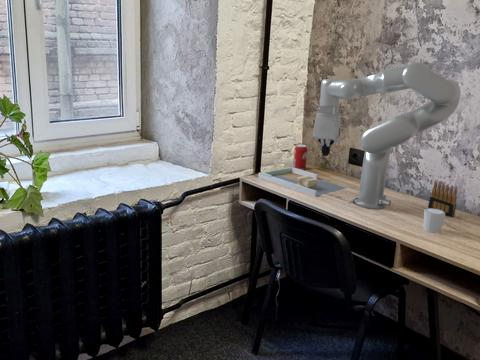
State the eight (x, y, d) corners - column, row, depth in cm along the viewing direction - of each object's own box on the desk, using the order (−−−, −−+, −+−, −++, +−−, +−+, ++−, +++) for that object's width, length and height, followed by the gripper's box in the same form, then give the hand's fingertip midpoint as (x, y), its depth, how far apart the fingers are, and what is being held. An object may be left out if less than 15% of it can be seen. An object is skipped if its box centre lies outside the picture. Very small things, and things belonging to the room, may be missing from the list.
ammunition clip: (427, 208, 196) (432, 179, 193) (430, 208, 197) (435, 179, 194) (451, 217, 188) (457, 187, 184) (454, 216, 189) (460, 186, 185)
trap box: (346, 191, 212) (347, 182, 211) (314, 199, 198) (315, 190, 197) (290, 173, 235) (291, 166, 233) (257, 180, 220) (258, 172, 219)
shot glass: (444, 230, 173) (448, 211, 171) (437, 235, 168) (441, 215, 166) (425, 224, 177) (429, 206, 175) (418, 229, 172) (421, 210, 170)
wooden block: (316, 188, 208) (317, 179, 207) (307, 190, 205) (308, 180, 203) (306, 184, 213) (307, 175, 212) (296, 186, 209) (297, 177, 208)
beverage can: (306, 171, 242) (308, 147, 238) (293, 170, 242) (295, 146, 238) (304, 168, 248) (307, 144, 244) (292, 167, 248) (294, 143, 244)
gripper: (307, 109, 197) (304, 154, 202) (343, 113, 190) (340, 159, 195) (314, 108, 204) (311, 151, 208) (349, 111, 196) (346, 156, 201)
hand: (325, 155), depth 201 cm, fingers closed
